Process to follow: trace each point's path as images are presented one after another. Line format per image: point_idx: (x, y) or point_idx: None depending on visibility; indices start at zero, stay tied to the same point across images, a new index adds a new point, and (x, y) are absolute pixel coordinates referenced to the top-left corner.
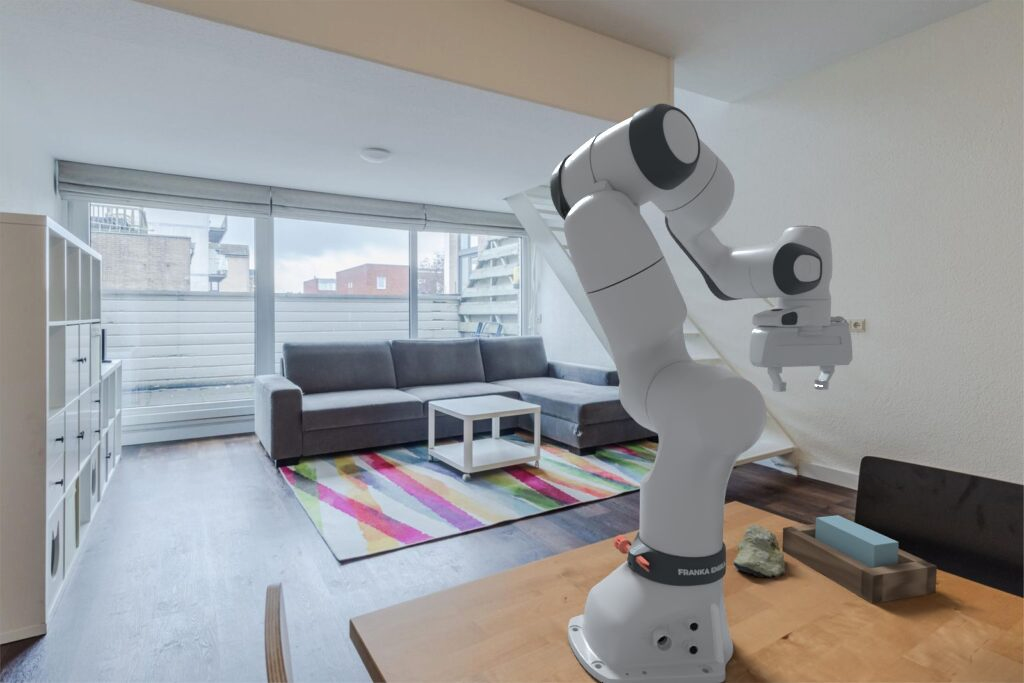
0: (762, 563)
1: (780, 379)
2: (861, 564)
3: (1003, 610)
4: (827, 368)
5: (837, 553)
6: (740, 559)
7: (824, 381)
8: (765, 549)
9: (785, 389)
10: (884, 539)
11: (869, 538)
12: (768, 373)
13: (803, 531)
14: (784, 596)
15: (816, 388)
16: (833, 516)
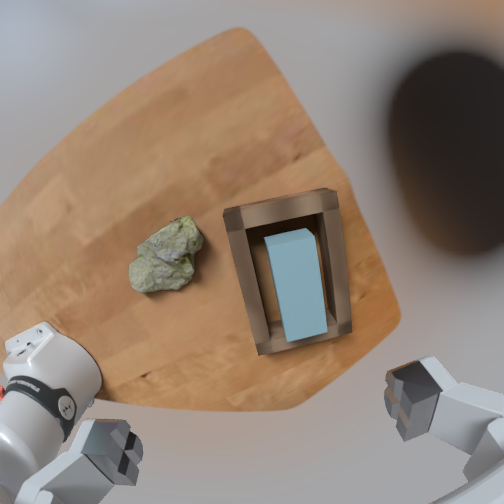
0: (159, 283)
1: (97, 496)
2: (264, 332)
3: (373, 341)
4: (472, 478)
5: (253, 305)
6: (132, 277)
7: (417, 432)
8: (170, 264)
9: (138, 455)
10: (315, 325)
11: (296, 323)
12: (31, 480)
13: (252, 226)
14: (168, 322)
15: (387, 379)
16: (302, 241)
